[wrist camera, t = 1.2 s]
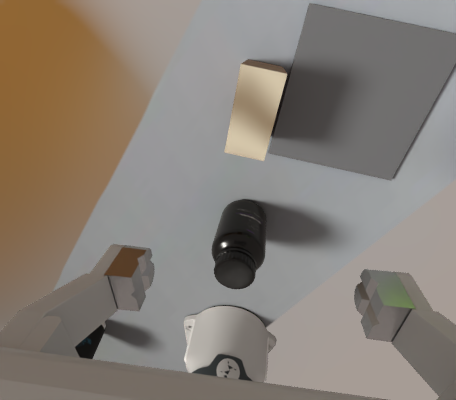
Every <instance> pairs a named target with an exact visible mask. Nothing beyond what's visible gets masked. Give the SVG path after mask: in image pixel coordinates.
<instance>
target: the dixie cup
mask: <svg viewBox="0 0 456 400" xmlns="http://www.w3.org/2000/svg"><path fill="white" fill-rule="evenodd" d="M105 327H106V324H105V322H104V323H102V324H101V325H100V326H99V327H98V328H96V329H95V330H94V331H93V332H92V333H91V334H89V335H88V336H87V337H86V338H85V339H84V340H82V341H81V342H80V343H79V344H78V345H76V346H75V349H76V351H77V353H78V355H79V357H80V358H87V359H92V358H93V356H94V354H95V352H96V349H97V347H98V345H99V343H100V341H101V338H102V336H103V334H104V331H105Z"/></svg>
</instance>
